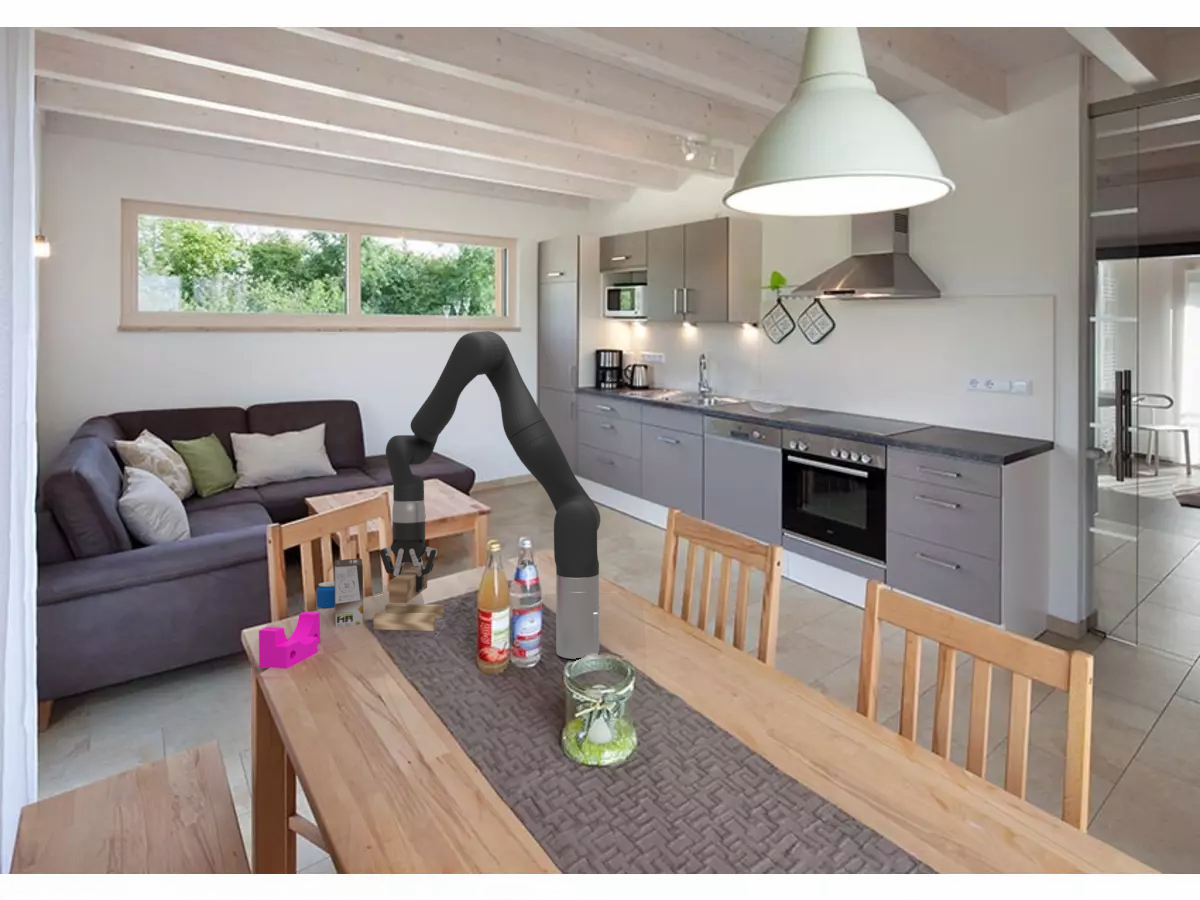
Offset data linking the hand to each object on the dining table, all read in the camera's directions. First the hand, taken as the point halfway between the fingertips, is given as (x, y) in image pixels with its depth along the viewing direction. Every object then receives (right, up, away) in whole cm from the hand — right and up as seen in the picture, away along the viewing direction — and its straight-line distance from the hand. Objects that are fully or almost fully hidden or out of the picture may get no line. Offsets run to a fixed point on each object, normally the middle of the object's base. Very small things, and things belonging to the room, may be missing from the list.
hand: (409, 590), depth 167 cm
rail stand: (0, -9, 0) cm, 9 cm away
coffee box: (-15, -10, +2) cm, 18 cm away
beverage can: (-23, -12, +11) cm, 28 cm away
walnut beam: (0, -1, 0) cm, 1 cm away
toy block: (-19, -10, -18) cm, 28 cm away
